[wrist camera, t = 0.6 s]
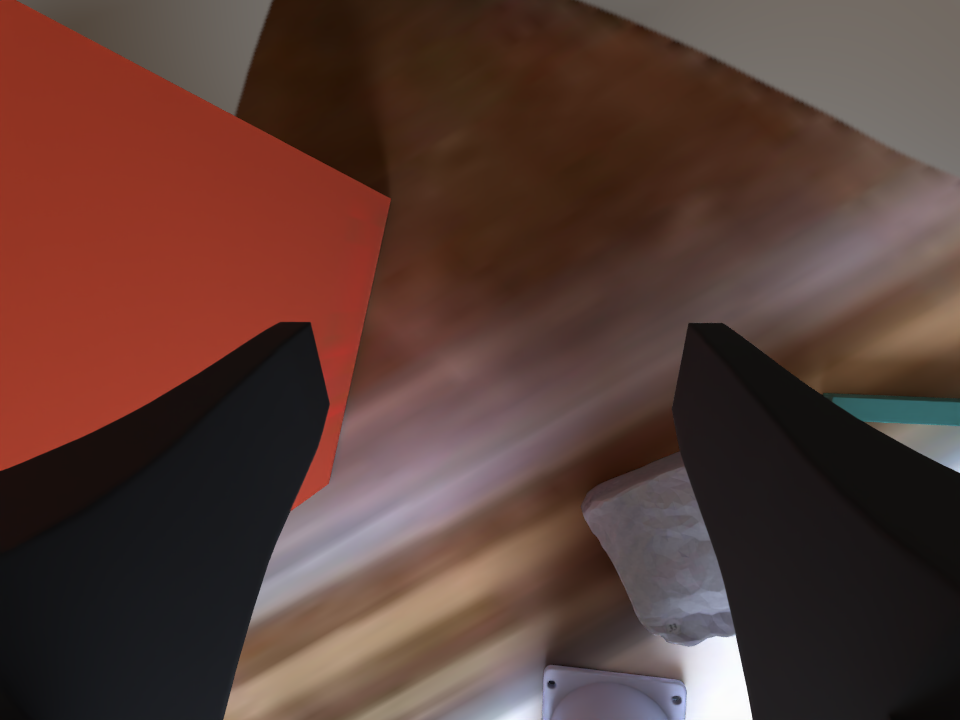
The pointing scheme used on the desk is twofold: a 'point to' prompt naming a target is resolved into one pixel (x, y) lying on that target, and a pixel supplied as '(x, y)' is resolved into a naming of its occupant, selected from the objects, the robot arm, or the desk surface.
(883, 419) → the frame
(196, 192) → the file binder
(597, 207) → the desk surface
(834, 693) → the robot arm
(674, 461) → the stone block
